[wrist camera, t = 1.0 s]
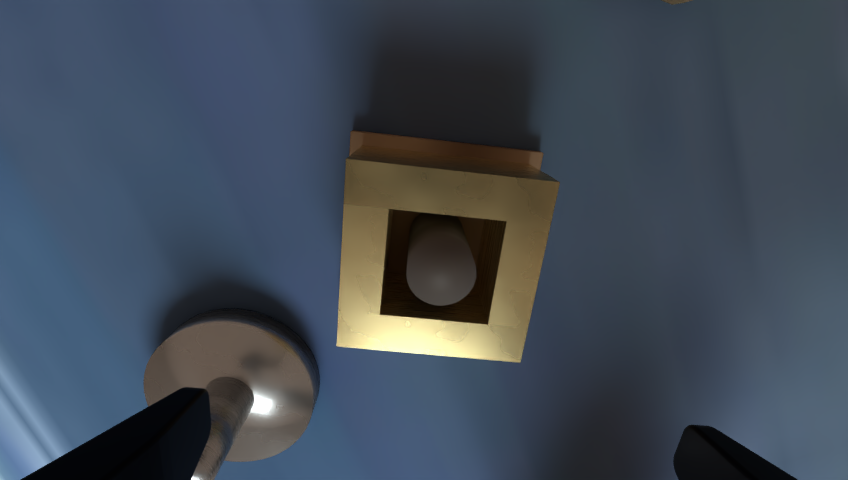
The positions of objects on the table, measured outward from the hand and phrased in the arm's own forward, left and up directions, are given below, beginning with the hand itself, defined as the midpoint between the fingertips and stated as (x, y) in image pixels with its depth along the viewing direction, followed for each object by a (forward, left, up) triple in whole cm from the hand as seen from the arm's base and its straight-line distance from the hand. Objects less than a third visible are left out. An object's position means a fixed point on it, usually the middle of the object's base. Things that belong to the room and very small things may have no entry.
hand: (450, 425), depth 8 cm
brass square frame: (0, 0, -11) cm, 11 cm away
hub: (+9, +9, -12) cm, 17 cm away
